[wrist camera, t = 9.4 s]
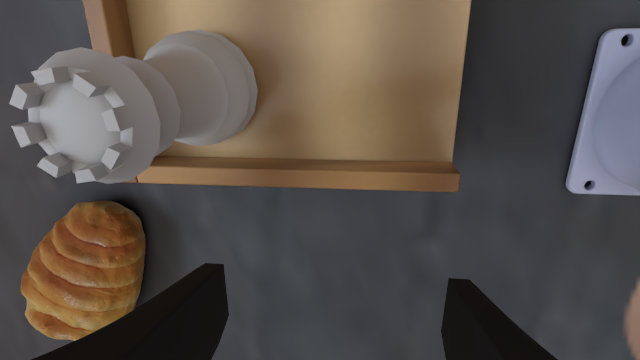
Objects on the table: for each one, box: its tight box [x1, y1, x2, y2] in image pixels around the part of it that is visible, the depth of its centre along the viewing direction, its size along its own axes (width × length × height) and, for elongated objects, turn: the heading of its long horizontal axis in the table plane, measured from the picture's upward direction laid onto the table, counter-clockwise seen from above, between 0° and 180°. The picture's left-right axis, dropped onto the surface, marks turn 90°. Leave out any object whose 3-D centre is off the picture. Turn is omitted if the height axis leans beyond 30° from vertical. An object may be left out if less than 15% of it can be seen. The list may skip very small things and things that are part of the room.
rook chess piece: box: [9, 29, 258, 184], centre depth 12 cm, size 4×4×8 cm
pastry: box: [21, 200, 145, 341], centre depth 23 cm, size 9×7×4 cm
